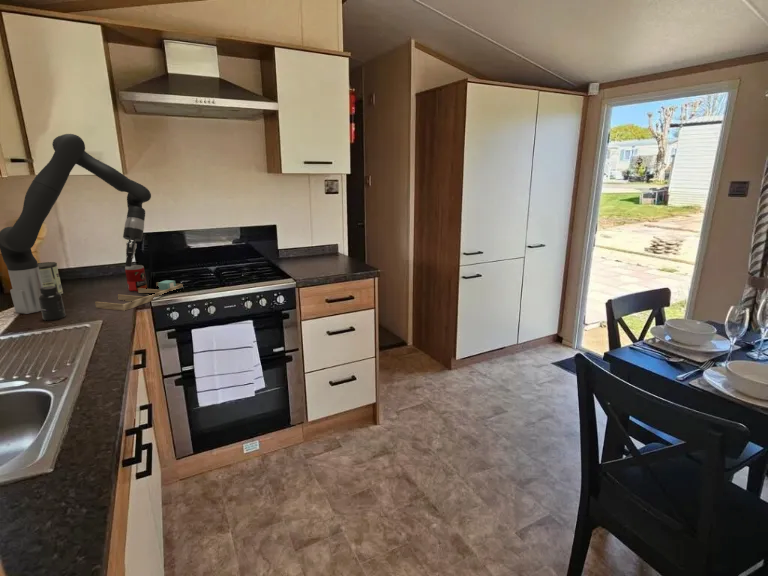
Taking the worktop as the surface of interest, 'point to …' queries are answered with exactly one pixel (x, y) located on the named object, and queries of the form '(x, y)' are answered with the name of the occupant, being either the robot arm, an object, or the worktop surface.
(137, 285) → the canned food
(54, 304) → the supplement bottle
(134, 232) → the robot arm
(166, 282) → the plain green block
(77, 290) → the worktop surface
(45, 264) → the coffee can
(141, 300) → the bay rack
